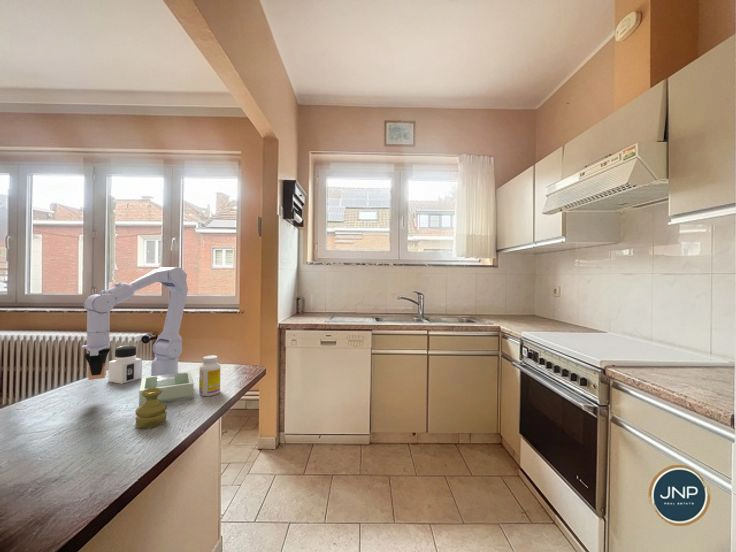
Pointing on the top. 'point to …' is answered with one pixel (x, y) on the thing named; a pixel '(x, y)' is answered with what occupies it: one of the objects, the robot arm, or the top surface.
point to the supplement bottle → (209, 376)
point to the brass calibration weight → (151, 410)
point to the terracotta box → (102, 375)
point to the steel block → (165, 380)
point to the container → (125, 365)
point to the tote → (170, 388)
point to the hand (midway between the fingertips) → (97, 372)
